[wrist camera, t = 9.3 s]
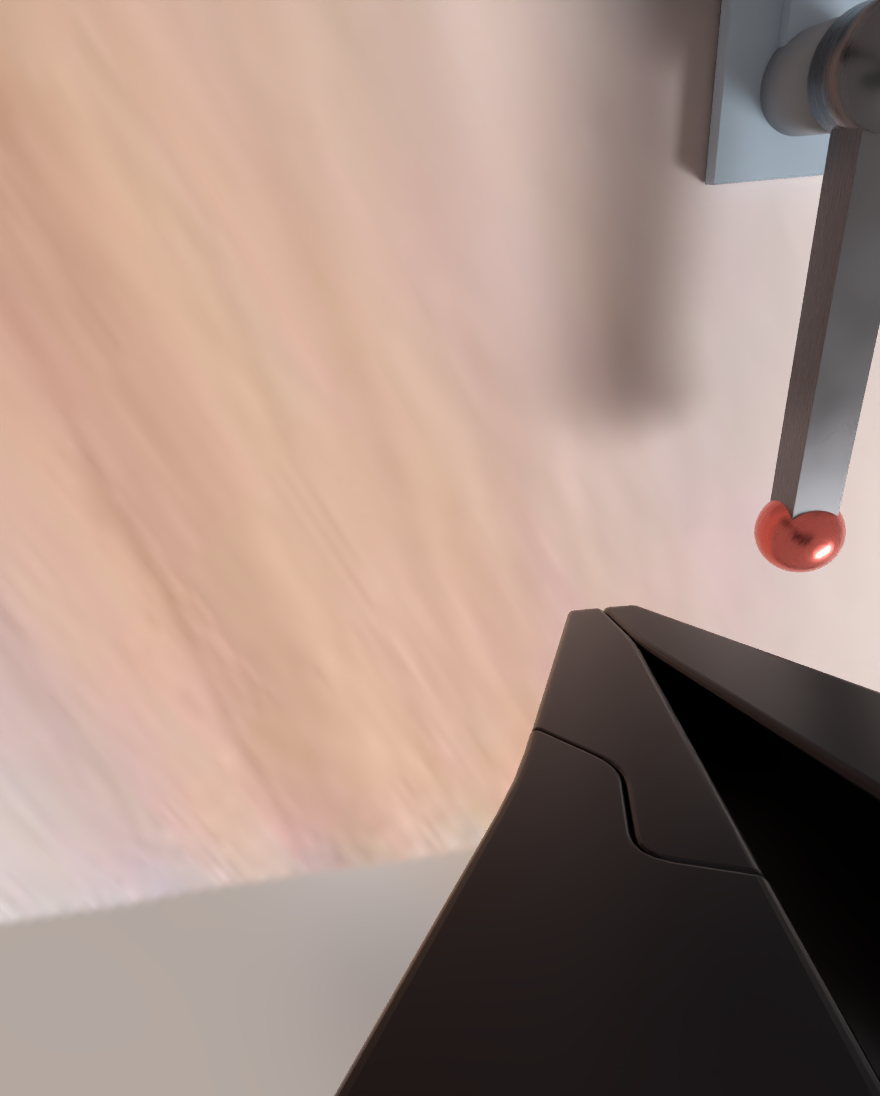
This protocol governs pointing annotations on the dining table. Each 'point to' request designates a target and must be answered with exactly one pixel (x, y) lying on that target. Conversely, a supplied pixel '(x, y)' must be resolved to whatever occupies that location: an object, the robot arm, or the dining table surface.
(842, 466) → the lock handle
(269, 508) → the dining table surface
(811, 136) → the vise bed
